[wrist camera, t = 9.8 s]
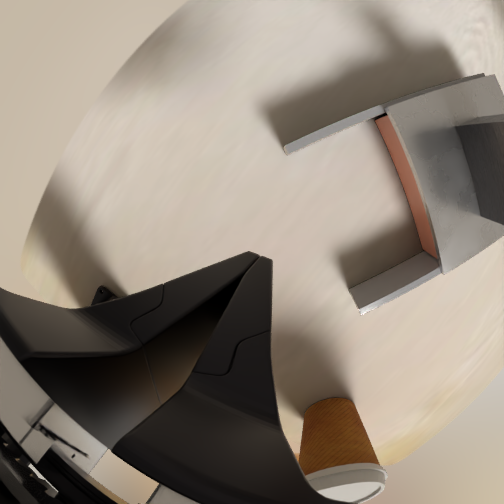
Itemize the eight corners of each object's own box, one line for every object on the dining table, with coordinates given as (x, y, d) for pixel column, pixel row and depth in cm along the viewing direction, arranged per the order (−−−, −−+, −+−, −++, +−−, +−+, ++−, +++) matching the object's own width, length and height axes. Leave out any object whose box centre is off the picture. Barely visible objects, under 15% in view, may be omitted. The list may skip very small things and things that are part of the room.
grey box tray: (350, 294, 23) (360, 315, 19) (283, 148, 19) (284, 145, 16) (503, 208, 18) (524, 215, 15) (462, 80, 15) (483, 73, 12)
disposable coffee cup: (289, 392, 27) (289, 488, 15) (374, 382, 26) (402, 470, 14) (290, 436, 30) (289, 514, 18) (361, 428, 28) (376, 502, 17)
